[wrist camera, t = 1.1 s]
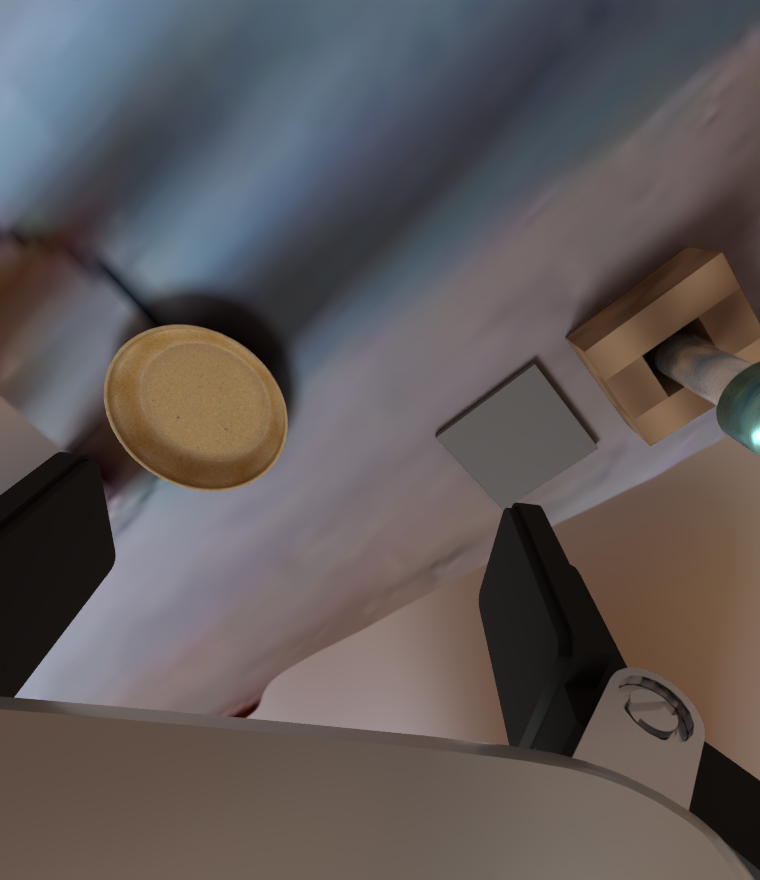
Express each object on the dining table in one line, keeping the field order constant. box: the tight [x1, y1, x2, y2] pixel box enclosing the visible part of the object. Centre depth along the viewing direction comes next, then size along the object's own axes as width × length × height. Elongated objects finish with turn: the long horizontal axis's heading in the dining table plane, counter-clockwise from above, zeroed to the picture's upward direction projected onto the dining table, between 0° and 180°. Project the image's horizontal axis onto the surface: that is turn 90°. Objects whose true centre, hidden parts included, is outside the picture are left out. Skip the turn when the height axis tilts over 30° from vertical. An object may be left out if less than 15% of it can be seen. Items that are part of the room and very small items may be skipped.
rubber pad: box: [436, 362, 598, 510], centre depth 40 cm, size 10×10×1 cm
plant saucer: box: [104, 324, 288, 492], centre depth 39 cm, size 15×15×3 cm
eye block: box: [566, 247, 760, 446], centre depth 35 cm, size 10×10×4 cm
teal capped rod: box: [642, 331, 760, 456], centre depth 30 cm, size 5×5×15 cm
